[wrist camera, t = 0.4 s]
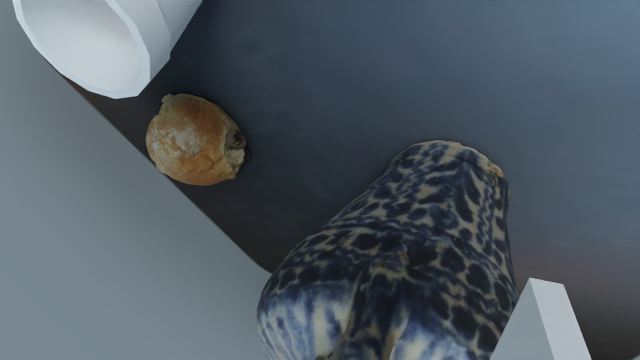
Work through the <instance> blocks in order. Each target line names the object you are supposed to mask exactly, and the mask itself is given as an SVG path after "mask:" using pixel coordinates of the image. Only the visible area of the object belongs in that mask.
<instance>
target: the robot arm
mask: <svg viewBox="0 0 640 360" xmlns="http://www.w3.org/2000/svg"><path fill="white" fill-rule="evenodd" d="M490 360H591V357H590V355H589V352H588V349H587V347H586V344H585V341H584V339H583V336H582V333H581V331H580V328H579V325H578V323H577V320H576V317H575V315H574V312H573V309H572V307H571V304H570V301H569V299H568V296H567V293H566V290H565V288H564V285H563V284H558V283H553V282H548V281H543V280H538V279H533V278H529V280H528V282H527V284H526V286H525V288H524V290H523V292H522V294H521V296H520V298H519V300H518V302H517V304H516V307H515V309H514V311H513V313H512V315H511V317H510V319H509V321H508V323H507V325H506V327H505V329H504V331H503V333H502V335H501V338H500V340H499V342H498V344H497V346H496V348H495V350H494V352H493V354H492V356H491V358H490Z"/></svg>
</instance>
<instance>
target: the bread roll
mask: <svg viewBox="0 0 640 360" xmlns="http://www.w3.org/2000/svg"><path fill="white" fill-rule="evenodd" d="M162 102H163V105H162V107H161V108H159V109H158V111H157V114H156V115H155V116H154V118H153V119H152V121H151V122H150V124H149V127H148V130H147V133H146V145H147V149H148V152H149V154H150V157H151V158H152V160H153V161H154V162H155V163H156V168H157V169H158V170H159V171H160V172H163V173H165V174H167V175H169V176H170V177H172V178H174V179H176V180H178V181H181V182H184V183H187V184H192V185H202V186H204V185H206V186H208V185H213V184H216V183H220V182H221V181H224V180H227V179H234V178H236V176H237V172H238V170H239V169H240V167H241V165H242V164H243V163H247V161H248V160H249V152H248V151H247V149H246V148H245V145H246V140H245V138H244V136H243V133H242V132H241V131H240V130H239V128H238V126H237V124H236V123H235V122H234V120H233V119H231V118H230V117H229V116H228V115H227V114H226V113H225V112H224V111H223V109H222V108H220V107H219V106H218V105H217V104H213V103H211V102H209V101H207V100H205V99H203V98H201V97H197V96H194V95H189V94H177V95H175V96H174V95H172V94H168V95H166V96H164V97H163V99H162Z"/></svg>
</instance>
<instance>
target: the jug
mask: <svg viewBox="0 0 640 360" xmlns="http://www.w3.org/2000/svg"><path fill="white" fill-rule="evenodd" d="M509 199H510V193H509V188H508V184H507V180H506V178H505V176H504V175H503V173H502V171H501V169H500V168H498V167H497V166H496V165H495V164H493V163H491V162H490V161H489V160H488V159H487V157H485V156H484V155H482V154H480V153H479V152H477V151H476V150H474V149H472V148H469V147H464V146H462V145H461V144H459V143H455V142H453V141H443V140H437V141H429V142H422V143H418V144H414V145H412V146H410V147H409V148H407V149H406V150H404V151H403V152H401V153H400V154H399V155H397V156H396V157H395V158H394V159H393V160H392V162H391V163H390V165H389V166H388V167H387V168H386V169H385V171H384V173H383V175H382V176H381V177H379V178H378V179H377V180H376V181H375V182H374V183H372V184H371V185H370V186H369V187H368V188H367V189H366V190H364V191H363V192H362V193H361V194H360V195H359V196H358V197H356V198H355V199H354V200H353V201H352V202H351V203H349V204H348V205H347V206H346V207H345V208H343V209H342V210H341V211H340V212H339V213H338V214H336V215H335V216H334V217H333V218H332V219H331V220H329V221H328V222H326V223H324V224H323V225H321V226H320V227H318V228H317V229H316V230H314V231H313V232H312V233H311V234H309V235H308V236H307V237H306V238H305V239H304V240H302V241H301V242H300V243H299V244H298V245H297V246H296V247H295V248H294V249H293V250H292V251H291V252H290V253H289V254H288V256H287V257H286V258H285V259H284V260H283V261H282V263H281V264H280V265H279V266H278V267H277V269H276V270H275V271H274V273H273V274H272V276H271V277H270V278H269V280H268V282H267V283H266V285H265V287H264V289H263V291H262V294H261V298H260V301H259V304H258V308H257V332H258V336H259V339H260V342H261V344H262V347H263V349H264V351H265V354H266V355H267V357H268V359H269V360H490V358H491V356H492V354H493V352H494V350H495V348H496V346H497V344H498V342H499V340H500V338H501V335H502V333H503V331H504V329H505V327H506V325H507V323H508V321H509V319H510V317H511V315H512V313H513V311H514V309H515V307H516V304H517V302H518V300H519V293H518V288H517V284H516V281H515V277H514V272H513V266H512V260H511V254H510V242H509V236H508V229H507V212H508V206H509Z"/></svg>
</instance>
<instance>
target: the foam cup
mask: <svg viewBox="0 0 640 360" xmlns="http://www.w3.org/2000/svg"><path fill="white" fill-rule="evenodd" d="M12 1H13V5H14V9H15V13H16V18H17V19H18V21H19V23H20V25H21V26H22V28H23V29H24V31H25V32H26V34H27V36H28V37H29V39H30V40H31V42H32V44H33V45H34V47H35V48H36V49H37V50H38V51H39V52H40V53H41V54H42V55H43V56H44V57H45V58H46V59H47V60H48V61H49V62H50V63H51V64H52V65H53V66H54V67H55V68H56V69H57V70H58V71H59V72H60V73H61V74H63V75H64V76H66V77H68V78H69V79H71V80H72V81H74V82H75V83H77V84H79V85H80V86H82V87H83V88H85V89H87V90H88V91H91V92H94V93H98V94H101V95H104V96H108V97H111V98H114V99H118V98H125V97H133V96H138V95H139V93H140V92H141V91H142V90H143V89H144V88H145V87H146V86H147V84H148V83H149V82H150V81H151V80H152V79H153V78H154V77H155V75H156V74H157V73H158V72H159V71H160V70H161V69H162V67H163V66H164V65H165V64H166V63H167V62H168V60H169V59H170V52H171V50H172V49H173V47H174V45H175V44H176V42H177V41H178V39H179V37H180V36H181V34H182V33H183V31H184V29H185V28H186V26H187V25H188V23H189V21H190V20H191V18H192V17H193V15H194V14H195V12H196V10H197V9H198V7H199V6H200V4H201V2H202V1H203V0H12Z"/></svg>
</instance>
